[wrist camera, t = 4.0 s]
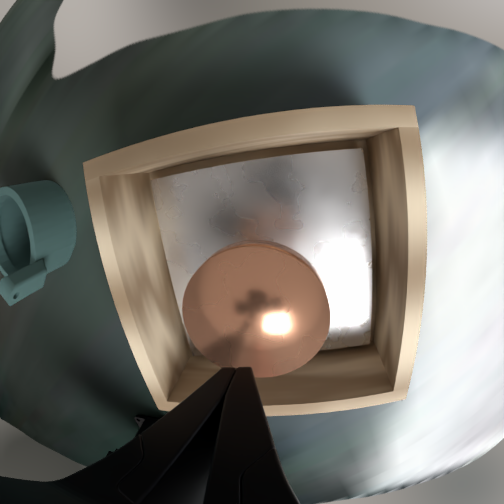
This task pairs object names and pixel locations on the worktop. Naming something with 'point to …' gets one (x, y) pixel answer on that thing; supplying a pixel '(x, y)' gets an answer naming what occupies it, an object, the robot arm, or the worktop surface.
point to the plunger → (270, 257)
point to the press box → (251, 148)
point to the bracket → (33, 236)
